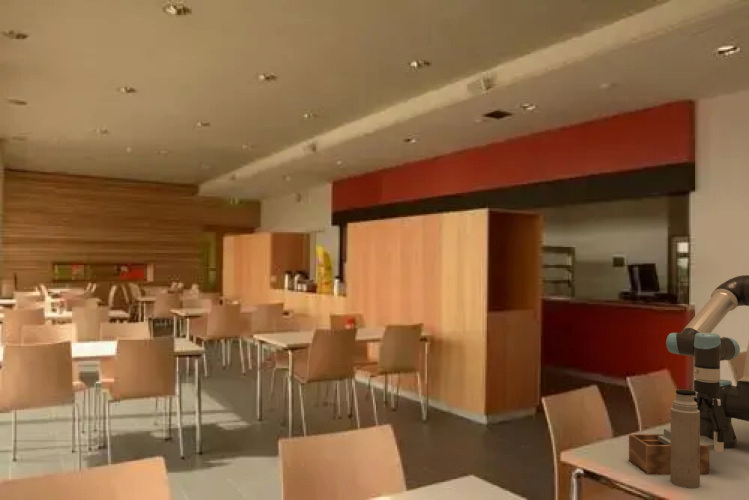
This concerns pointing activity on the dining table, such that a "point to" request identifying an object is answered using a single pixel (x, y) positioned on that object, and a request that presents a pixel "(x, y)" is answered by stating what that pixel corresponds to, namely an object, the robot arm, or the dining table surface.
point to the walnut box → (658, 455)
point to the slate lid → (667, 439)
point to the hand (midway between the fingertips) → (706, 445)
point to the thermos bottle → (685, 441)
